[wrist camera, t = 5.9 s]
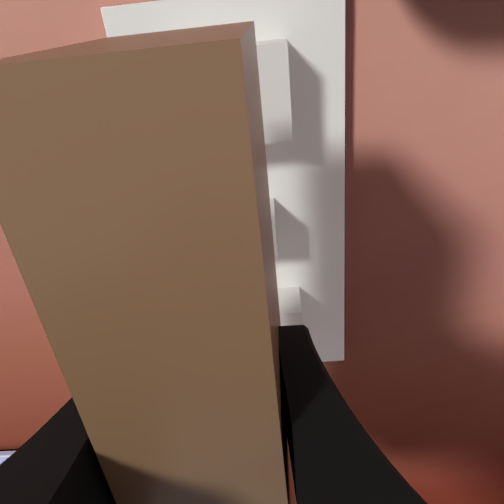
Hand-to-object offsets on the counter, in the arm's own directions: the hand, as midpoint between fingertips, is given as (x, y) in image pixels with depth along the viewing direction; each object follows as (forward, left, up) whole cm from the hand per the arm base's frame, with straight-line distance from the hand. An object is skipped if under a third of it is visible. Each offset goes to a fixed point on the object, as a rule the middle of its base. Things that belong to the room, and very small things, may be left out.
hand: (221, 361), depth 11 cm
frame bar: (0, 0, -2) cm, 2 cm away
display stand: (0, 0, -9) cm, 9 cm away
